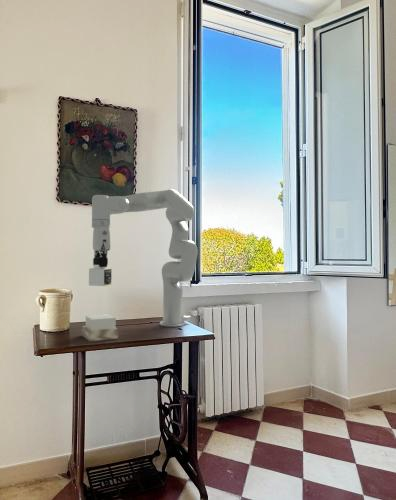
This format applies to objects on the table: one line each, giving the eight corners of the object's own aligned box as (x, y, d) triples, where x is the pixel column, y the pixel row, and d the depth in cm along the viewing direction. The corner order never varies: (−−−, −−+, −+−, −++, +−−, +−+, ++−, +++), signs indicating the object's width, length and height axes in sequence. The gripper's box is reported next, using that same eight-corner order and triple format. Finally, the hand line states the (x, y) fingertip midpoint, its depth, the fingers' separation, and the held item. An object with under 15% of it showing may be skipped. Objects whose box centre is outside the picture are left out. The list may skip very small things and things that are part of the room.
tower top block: (108, 324, 171) (108, 314, 171) (115, 328, 162) (115, 317, 162) (85, 326, 166) (85, 315, 166) (91, 330, 157) (92, 319, 157)
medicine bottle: (104, 286, 160) (104, 257, 160) (88, 285, 161) (88, 256, 161) (111, 284, 167) (111, 256, 167) (96, 284, 168) (96, 256, 168)
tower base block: (109, 333, 172) (109, 323, 172) (117, 339, 162) (118, 328, 162) (81, 336, 166) (82, 326, 166) (89, 342, 156) (89, 331, 156)
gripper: (116, 223, 158) (116, 267, 158) (103, 225, 173) (102, 265, 173) (98, 222, 154) (98, 267, 154) (86, 224, 169) (85, 265, 169)
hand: (100, 266), depth 164 cm, fingers closed on medicine bottle, 6 cm apart
